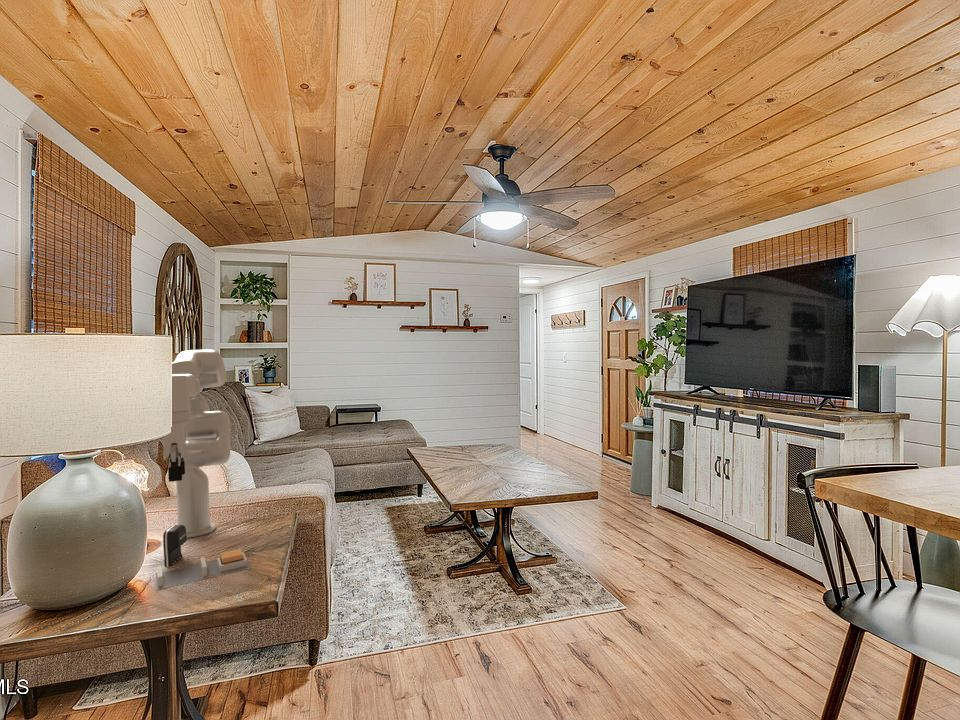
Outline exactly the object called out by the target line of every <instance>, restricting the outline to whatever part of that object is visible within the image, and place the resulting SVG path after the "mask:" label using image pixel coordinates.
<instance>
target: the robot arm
mask: <svg viewBox="0 0 960 720" xmlns="http://www.w3.org/2000/svg"><path fill="white" fill-rule="evenodd" d="M171 363H172V427H171V433H170V434H169V435H167V436H165V437H163V436H162V438H163V440H162V441H163V446H162V447H163V450H162V451H163V452H162V453H163V460H165V461H167V460H168V467H167V469H168V470H167V471H168V473H167V474H168V476H167V477H168V482H169V483H172V482H175V483H176V501H177V502H176V503H177V525H184V526H185V528H186V535H187V539H188V538H196V537H200V536H204V535H207V534H209V533H212V532H213V531H214V530H215V529H216V524H215V523H214V522H211V510H210V509H211V507H210V506H211V505H210V488H209V487H210V486H209V482H210V481H209V477H208V475H207V474H206V473H205V471H203V470H202V467H210V466H219V465H224V464H226V463H228V462H229V460H230V458H231V457H230V456H231V421H230V415H228V413H227V412H226V411H224V410H208V401H207V399H206V398H205V397H204V396H203V395H202V394H201V393H200V391H201V389H204V388H205V389H207V388H219V387H223V386H224V385H225V383H226V381H227V371H226V366H225V363H224V359H223V356H222V355H221V354H220V352H219V351H218V350H216V349H190V350H184V351H183V350H182V351H181V352H179V353H177V355H176V356H175V358H174V360H173V361H172V362H171Z"/></svg>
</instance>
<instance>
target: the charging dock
mask: <svg viewBox="0 0 960 720" xmlns="http://www.w3.org/2000/svg"><path fill="white" fill-rule="evenodd" d="M242 554H243V559H239V560H235V561H231V562H226V563H223V562H222V559H221V556H219V557H217V558H216V559H215V560H211V561H206V558H205V556H201V557H199V558H200V560H199V562H200V563H197V564H193V565H188V566H184V567H180V568H176V569H175V568H174V569H171V570H166V571H163V565H158V566H157V573H155V591H160V590H161V591H162V590H165V589H169V588H174V587H178V586H181V585H185V584H190V583H195V582H198V581H203V580H208V579H211V578H216V577H220V576H221V577H222V576H225V575H229V574H232V573H233V574H234V573H236V572H241V571H245V570H249V569H252V567H251V565H250V563H249V560H248V559H247V555H246V554H245V552H244V551H243V552H242Z"/></svg>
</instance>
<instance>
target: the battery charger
mask: <svg viewBox="0 0 960 720" xmlns="http://www.w3.org/2000/svg"><path fill="white" fill-rule="evenodd" d="M162 539H163V541H162V542H163V543H162V544H163V560H164V567H165V568H167V567H174V565H176V564H177V563H178V562H179V561H181V559H183V558H184V556H183V554H182V546H183V545H184V544H185V543H187V539H188V538H187V535H186V528H185V526H184V525H178V524H174V525H171V526H170V527H168V528H166V529H165V530H164V532H163V537H162Z"/></svg>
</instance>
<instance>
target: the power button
mask: <svg viewBox="0 0 960 720" xmlns="http://www.w3.org/2000/svg"><path fill="white" fill-rule="evenodd" d="M220 557H221V559H222V562H223V563H226V562H231V561H235V560H239V559H243V554H242V549H241V548H238V549H233V550H229V551H223V552H221V553H220Z"/></svg>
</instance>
